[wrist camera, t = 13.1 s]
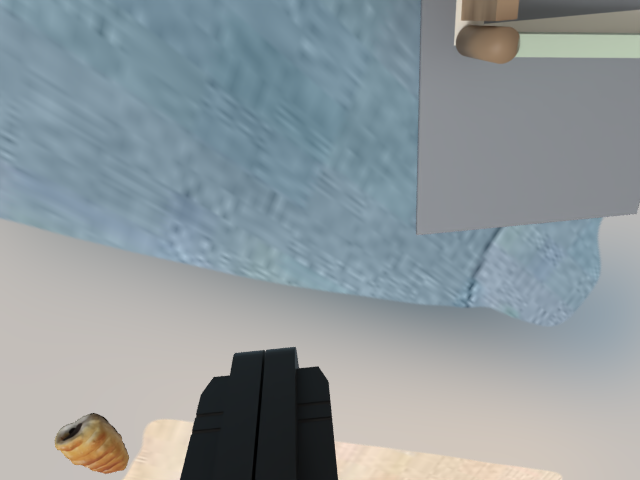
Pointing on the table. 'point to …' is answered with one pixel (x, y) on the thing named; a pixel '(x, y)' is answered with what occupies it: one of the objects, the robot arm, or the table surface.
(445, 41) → the card
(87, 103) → the table surface
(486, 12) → the walnut fence
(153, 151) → the table surface
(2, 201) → the table surface
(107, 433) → the pastry
